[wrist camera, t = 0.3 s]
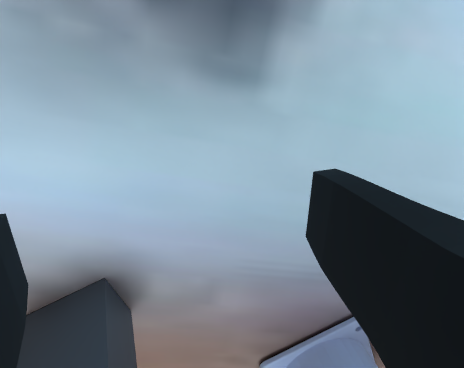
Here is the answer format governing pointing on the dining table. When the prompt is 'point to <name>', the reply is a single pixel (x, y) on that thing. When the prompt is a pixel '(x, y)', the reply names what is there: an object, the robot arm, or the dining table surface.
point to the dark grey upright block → (80, 332)
